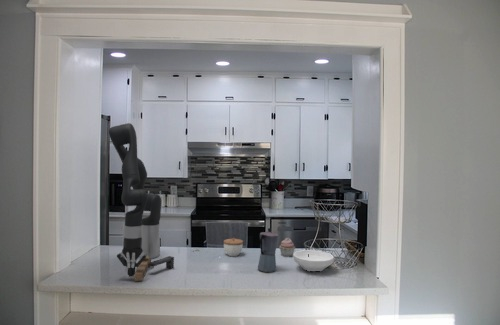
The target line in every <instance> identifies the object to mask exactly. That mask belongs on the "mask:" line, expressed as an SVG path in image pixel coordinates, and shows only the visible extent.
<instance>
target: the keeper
mask: <svg viewBox="0 0 500 325" xmlns="http://www.w3.org/2000/svg"><path fill="white" fill-rule="evenodd" d="M174 263H175V257H174V256H170V255H169V256H166V257H162V258H159V259H156V260H153V261H151V262H150V263H149V265H150V266H154V267H156V266H159V265H162V264H165V268H166V269H169V270H172V269H174V268H175V267H174V265H175V264H174Z"/></svg>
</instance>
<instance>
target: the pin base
mask: <svg viewBox="0 0 500 325" xmlns="http://www.w3.org/2000/svg"><path fill="white" fill-rule="evenodd" d="M148 258H149V256H147V257H146V258H145V259H144V260H148ZM138 267H139V266H138ZM138 267H136V270H137V269H138ZM154 268H155V266H150V267H148V269H147V271H149V270H152V269H154Z"/></svg>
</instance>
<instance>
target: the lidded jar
mask: <svg viewBox="0 0 500 325" xmlns="http://www.w3.org/2000/svg"><path fill="white" fill-rule="evenodd" d="M243 245H244V240H242V239H239V238H235V237H232V238H228V239H226V238H225V239H223V249H224V252H225V253H226V255H227V256H228V257H238V256H239V255H240V254H241V253H242V251H243Z"/></svg>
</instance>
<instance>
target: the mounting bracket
mask: <svg viewBox="0 0 500 325" xmlns="http://www.w3.org/2000/svg"><path fill="white" fill-rule="evenodd" d="M203 250H204V248H203V247H202V248H201V247H200V248H199V247H193V248H192V250H191V251H192V252H193V251H194V252H200V251H201V252H202V251H203Z"/></svg>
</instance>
